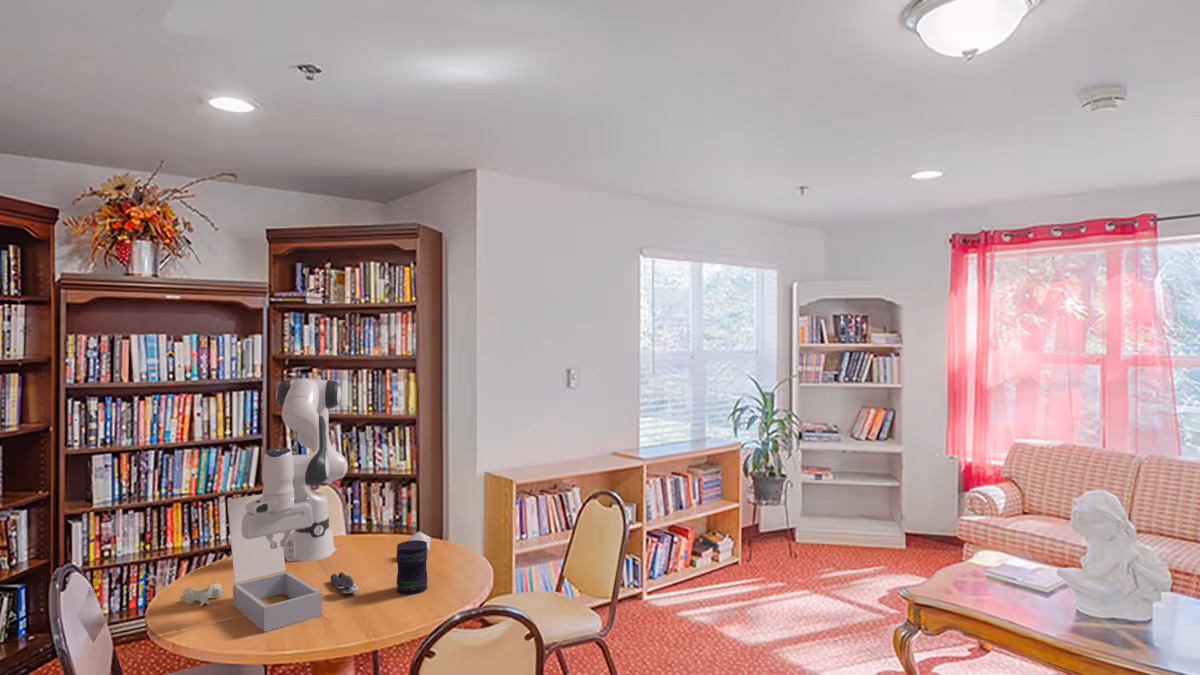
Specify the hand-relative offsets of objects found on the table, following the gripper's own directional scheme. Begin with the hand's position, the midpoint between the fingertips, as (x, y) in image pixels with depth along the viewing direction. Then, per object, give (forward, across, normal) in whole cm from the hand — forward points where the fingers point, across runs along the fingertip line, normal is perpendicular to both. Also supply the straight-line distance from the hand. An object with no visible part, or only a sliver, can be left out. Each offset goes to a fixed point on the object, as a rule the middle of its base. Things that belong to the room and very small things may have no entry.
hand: (278, 547), depth 207 cm
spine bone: (+20, +14, -25) cm, 35 cm away
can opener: (+20, -22, -3) cm, 30 cm away
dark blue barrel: (+20, -37, +14) cm, 44 cm away
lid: (+12, 0, -14) cm, 18 cm away
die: (+20, -57, -14) cm, 61 cm away
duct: (+20, 0, 0) cm, 20 cm away
